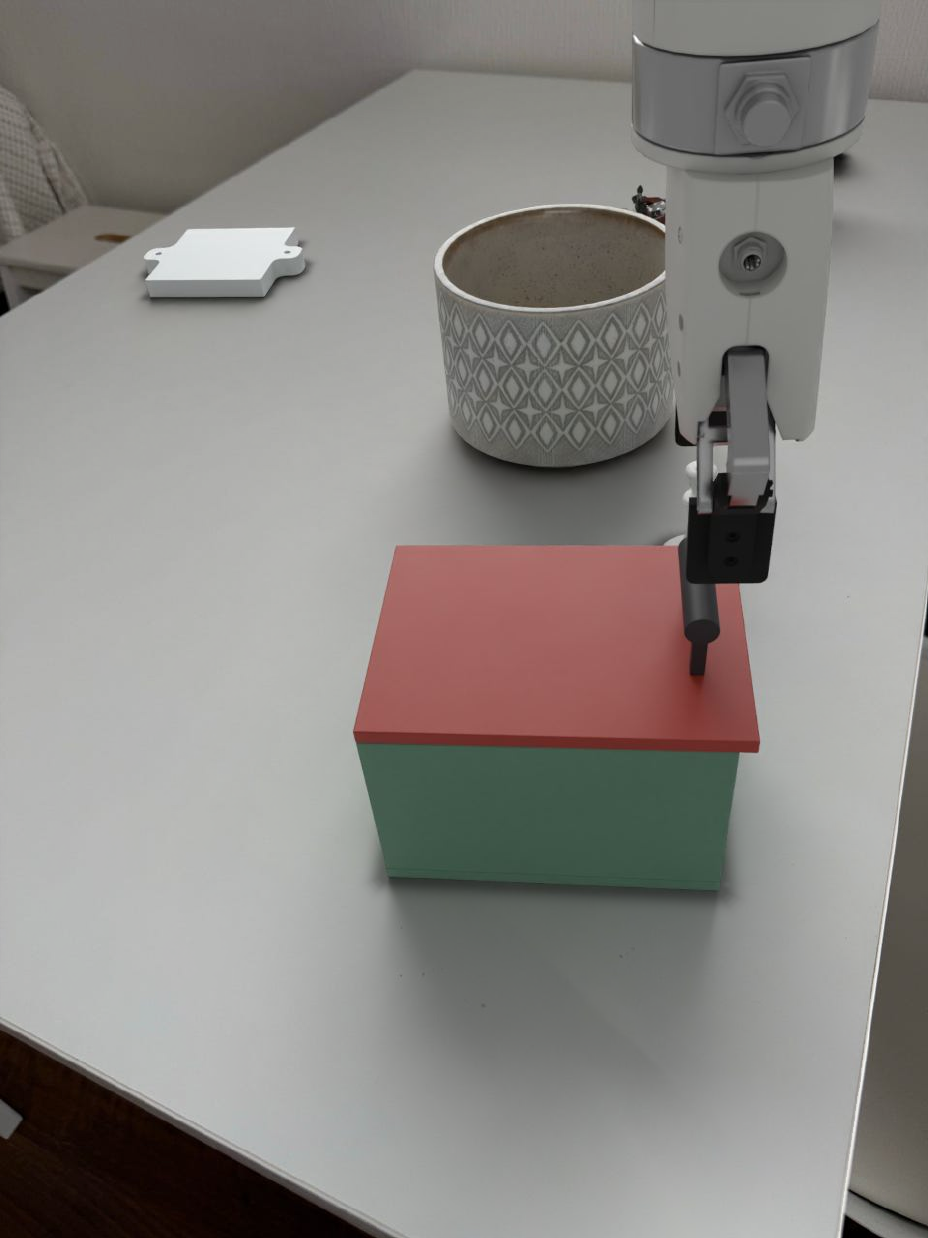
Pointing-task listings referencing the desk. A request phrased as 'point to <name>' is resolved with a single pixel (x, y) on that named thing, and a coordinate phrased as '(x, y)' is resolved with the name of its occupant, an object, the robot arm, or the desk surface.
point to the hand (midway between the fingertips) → (716, 505)
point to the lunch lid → (557, 652)
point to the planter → (556, 333)
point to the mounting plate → (223, 262)
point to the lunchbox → (551, 813)
